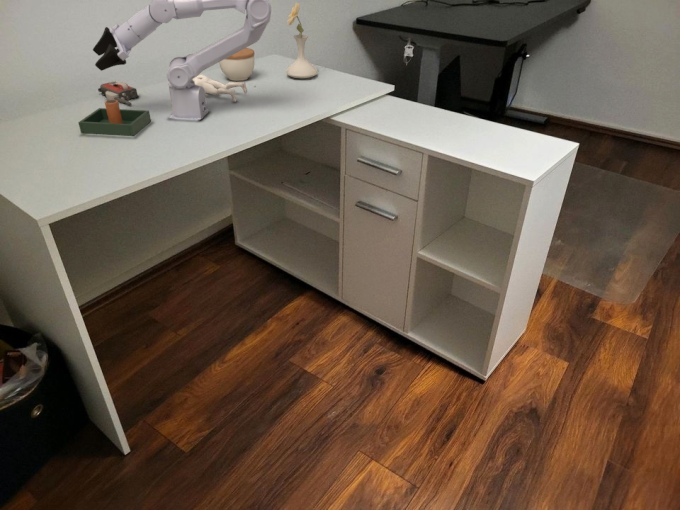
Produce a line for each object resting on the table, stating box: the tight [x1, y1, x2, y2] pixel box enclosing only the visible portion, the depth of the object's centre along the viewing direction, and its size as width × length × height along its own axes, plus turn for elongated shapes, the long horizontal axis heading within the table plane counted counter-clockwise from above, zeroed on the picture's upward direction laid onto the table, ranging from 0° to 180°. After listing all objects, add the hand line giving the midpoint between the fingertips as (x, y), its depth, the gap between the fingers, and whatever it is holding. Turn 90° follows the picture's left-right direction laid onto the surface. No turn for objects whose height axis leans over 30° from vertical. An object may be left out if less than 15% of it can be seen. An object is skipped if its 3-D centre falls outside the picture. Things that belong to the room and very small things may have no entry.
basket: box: [77, 107, 152, 137], centre depth 143 cm, size 15×12×4 cm
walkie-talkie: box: [97, 80, 139, 106], centre depth 164 cm, size 9×4×20 cm
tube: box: [104, 100, 123, 124], centre depth 141 cm, size 3×3×7 cm
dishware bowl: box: [218, 47, 255, 82], centre depth 182 cm, size 13×13×11 cm
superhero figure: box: [192, 73, 248, 103], centre depth 169 cm, size 12×6×25 cm
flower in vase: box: [285, 2, 318, 79], centre depth 181 cm, size 13×11×25 cm
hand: (96, 59), depth 140 cm, fingers open, 7 cm apart
